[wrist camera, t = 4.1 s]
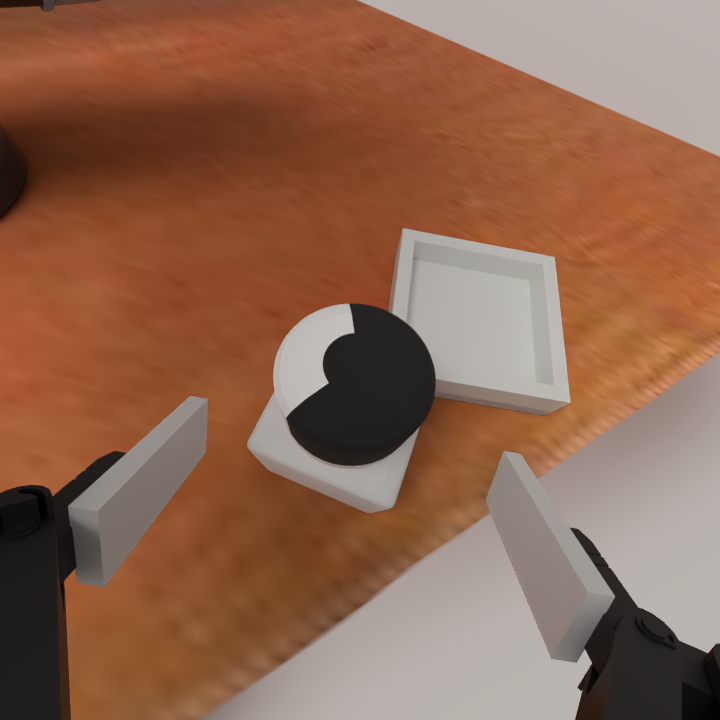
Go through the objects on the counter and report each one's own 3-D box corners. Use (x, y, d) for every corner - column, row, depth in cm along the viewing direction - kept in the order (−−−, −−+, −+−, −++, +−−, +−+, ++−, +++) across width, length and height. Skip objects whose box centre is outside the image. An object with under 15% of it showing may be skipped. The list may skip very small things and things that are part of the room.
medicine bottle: (407, 410, 25) (477, 321, 14) (371, 515, 22) (424, 506, 11) (312, 371, 25) (307, 256, 14) (264, 469, 22) (212, 416, 11)
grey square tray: (377, 386, 25) (385, 370, 23) (395, 254, 30) (403, 228, 28) (543, 415, 26) (570, 402, 23) (533, 280, 31) (554, 257, 28)
